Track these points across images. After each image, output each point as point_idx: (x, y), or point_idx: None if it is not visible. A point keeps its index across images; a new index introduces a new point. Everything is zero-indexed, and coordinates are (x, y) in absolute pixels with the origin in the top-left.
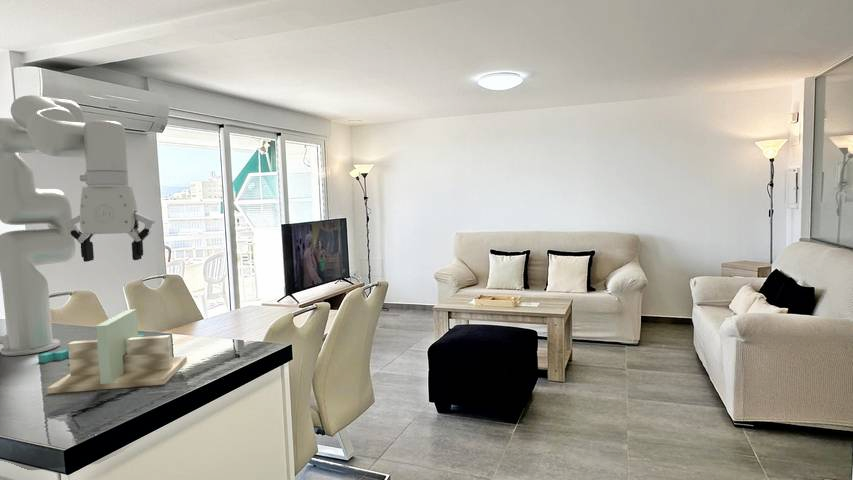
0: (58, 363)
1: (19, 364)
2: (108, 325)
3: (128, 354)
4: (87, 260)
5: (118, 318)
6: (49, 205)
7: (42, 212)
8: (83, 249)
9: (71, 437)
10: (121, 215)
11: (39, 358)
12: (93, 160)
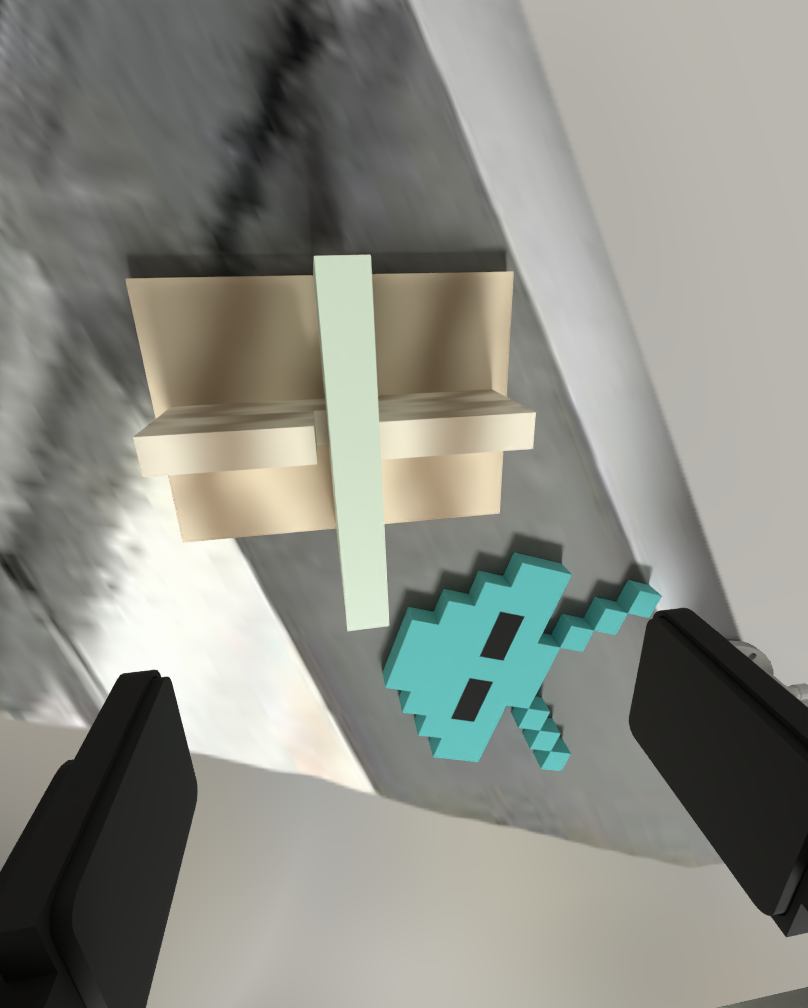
0: (592, 567)
1: (690, 572)
2: (316, 282)
3: (310, 413)
4: (653, 617)
5: (334, 431)
6: None
7: None
8: (787, 700)
9: None
10: None
11: (653, 590)
12: None
